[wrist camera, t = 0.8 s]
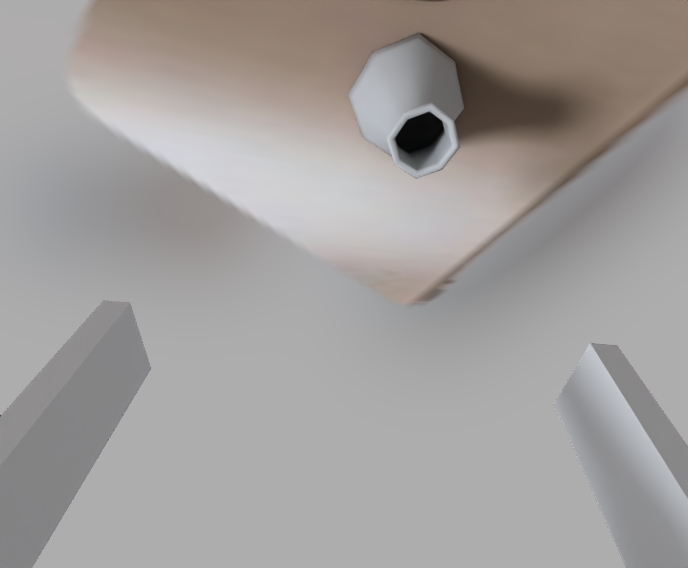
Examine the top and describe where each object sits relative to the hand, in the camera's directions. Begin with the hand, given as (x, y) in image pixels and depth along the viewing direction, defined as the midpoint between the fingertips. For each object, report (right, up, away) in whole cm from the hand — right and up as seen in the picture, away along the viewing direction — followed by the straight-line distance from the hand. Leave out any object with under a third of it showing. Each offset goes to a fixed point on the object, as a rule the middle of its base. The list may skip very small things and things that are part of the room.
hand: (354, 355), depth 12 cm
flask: (+4, +14, +15) cm, 21 cm away
